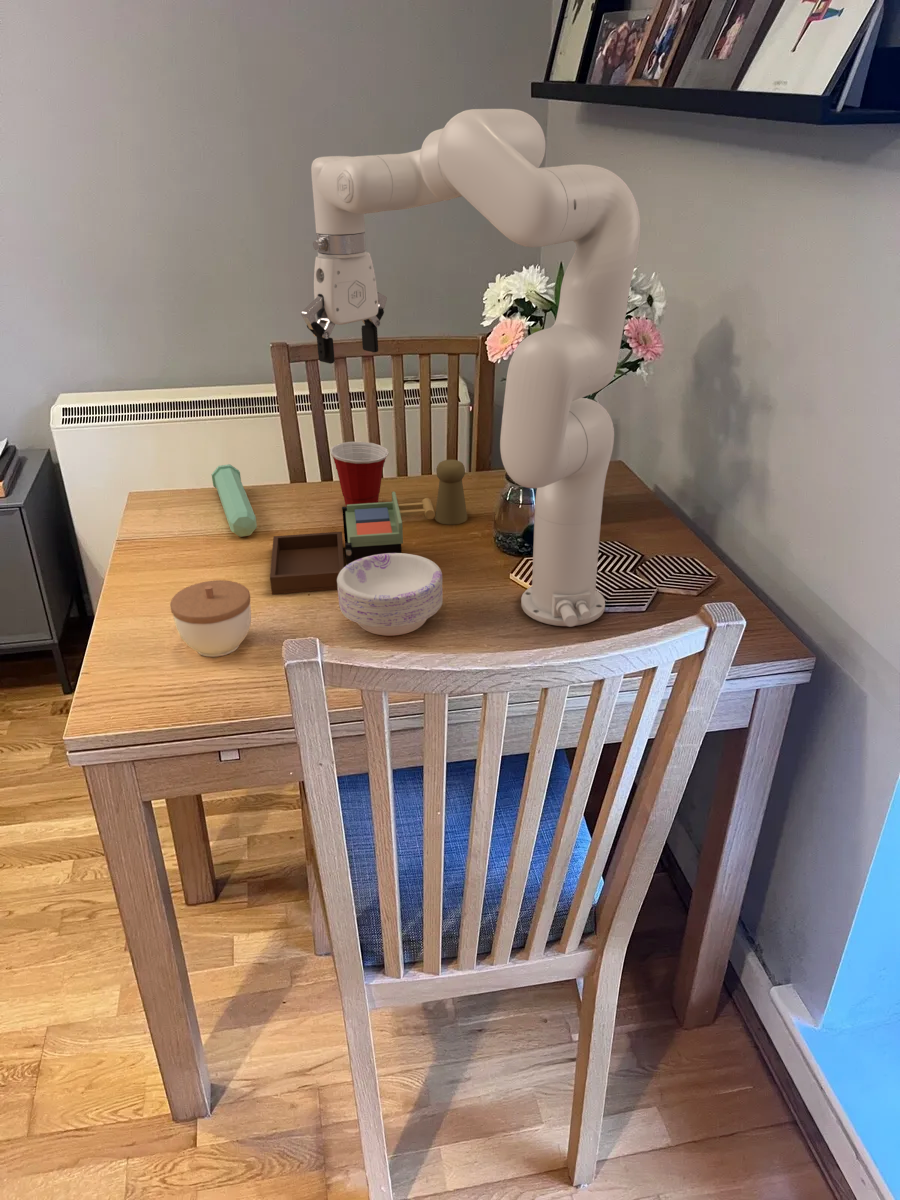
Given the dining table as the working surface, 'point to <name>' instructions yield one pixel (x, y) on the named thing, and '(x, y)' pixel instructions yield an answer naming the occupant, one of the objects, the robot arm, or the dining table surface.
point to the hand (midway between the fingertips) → (349, 356)
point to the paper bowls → (390, 592)
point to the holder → (306, 562)
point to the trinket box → (212, 616)
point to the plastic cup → (359, 470)
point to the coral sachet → (373, 528)
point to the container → (234, 500)
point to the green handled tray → (394, 518)
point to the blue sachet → (371, 515)
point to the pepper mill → (450, 493)
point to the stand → (365, 551)
